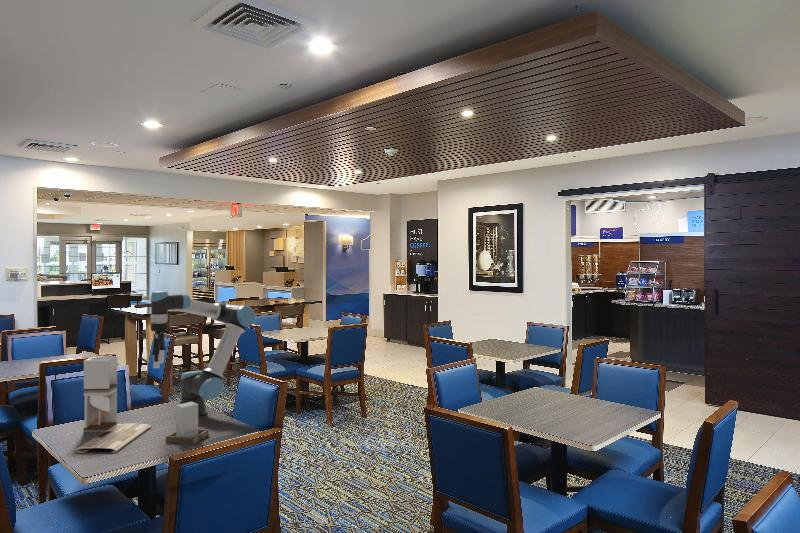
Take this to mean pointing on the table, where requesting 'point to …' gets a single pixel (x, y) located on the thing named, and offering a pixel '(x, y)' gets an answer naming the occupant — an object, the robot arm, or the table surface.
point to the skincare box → (187, 420)
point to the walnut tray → (185, 440)
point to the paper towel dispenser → (100, 393)
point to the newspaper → (115, 437)
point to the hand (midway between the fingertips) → (158, 365)
